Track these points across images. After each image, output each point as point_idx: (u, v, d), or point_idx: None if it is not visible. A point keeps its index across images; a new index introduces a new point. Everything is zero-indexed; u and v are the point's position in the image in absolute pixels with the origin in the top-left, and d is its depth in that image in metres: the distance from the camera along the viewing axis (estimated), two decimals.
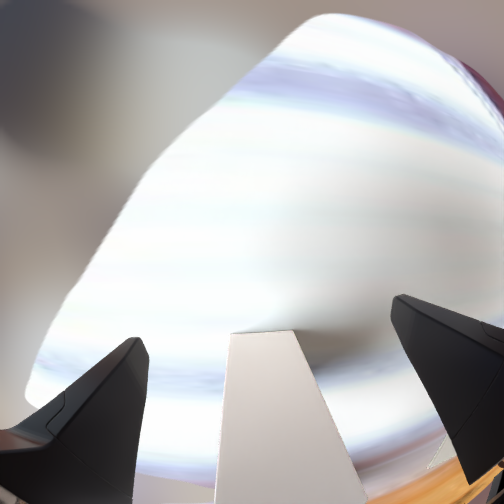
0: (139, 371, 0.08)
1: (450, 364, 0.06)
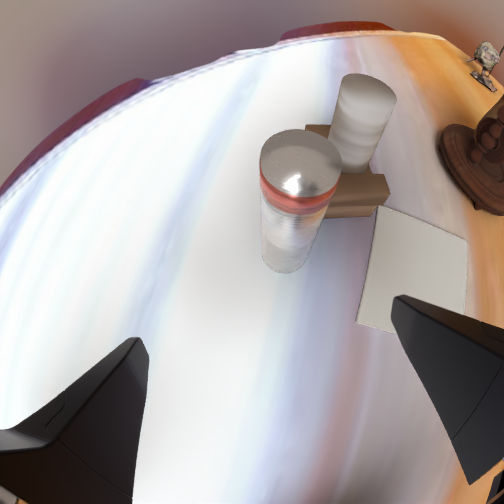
0: (139, 371, 0.08)
1: (450, 364, 0.06)
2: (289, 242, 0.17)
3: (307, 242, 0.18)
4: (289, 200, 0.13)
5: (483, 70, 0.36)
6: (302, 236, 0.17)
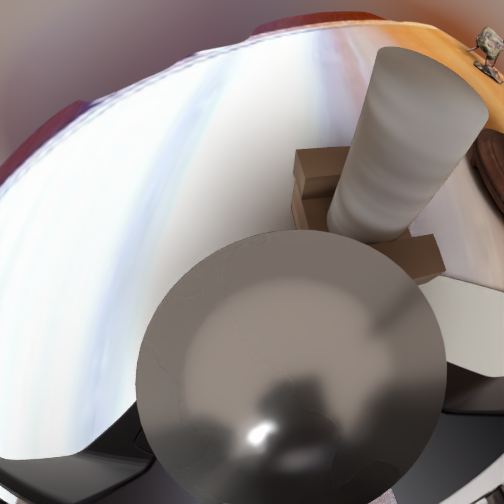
0: None
1: None
2: None
3: None
4: None
5: (487, 60, 0.30)
6: None
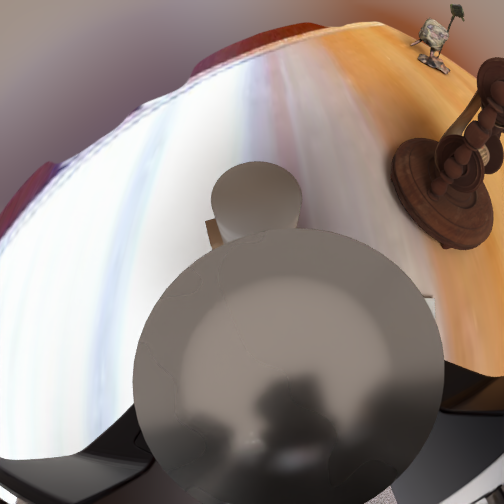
0: None
1: None
2: None
3: None
4: None
5: (431, 51, 0.38)
6: None
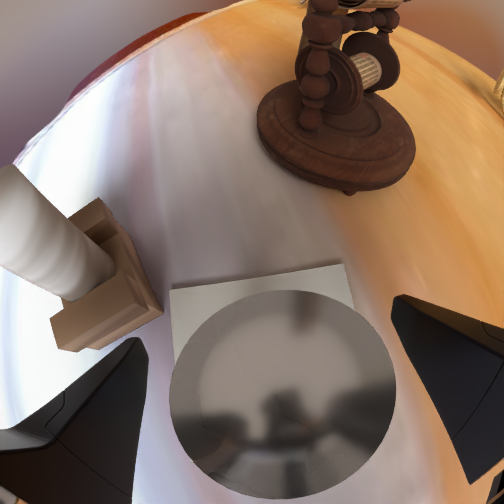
0: (138, 371, 0.08)
1: (450, 364, 0.06)
2: None
3: None
4: None
5: None
6: None
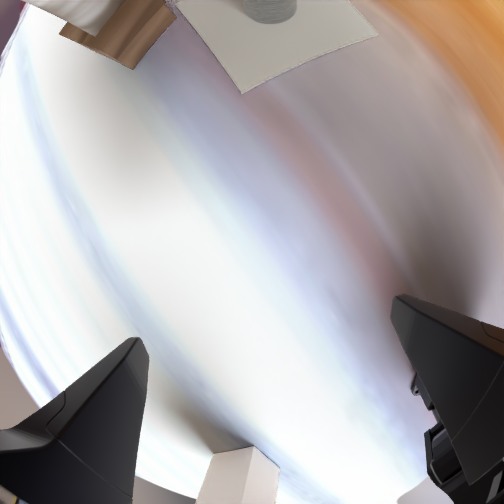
0: (139, 371, 0.08)
1: (450, 364, 0.06)
2: None
3: None
4: None
5: None
6: None
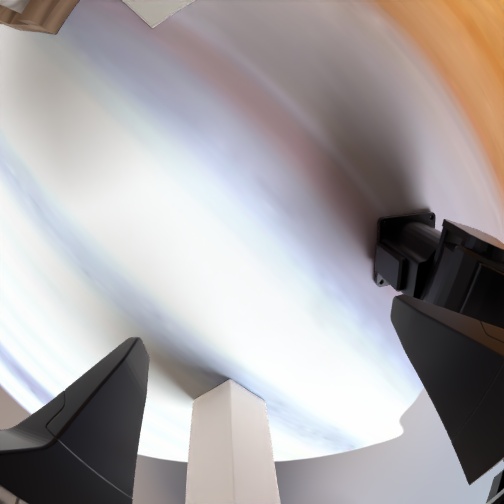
0: (139, 371, 0.08)
1: (450, 364, 0.06)
2: None
3: None
4: None
5: None
6: None
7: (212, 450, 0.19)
